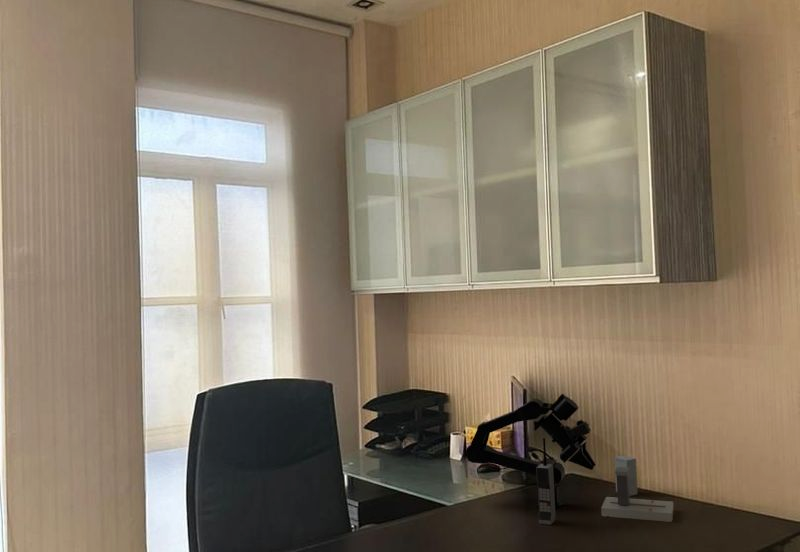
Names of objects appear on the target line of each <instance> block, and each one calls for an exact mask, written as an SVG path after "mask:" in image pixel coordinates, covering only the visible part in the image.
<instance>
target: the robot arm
mask: <svg viewBox="0 0 800 552" xmlns="http://www.w3.org/2000/svg"><path fill="white" fill-rule="evenodd" d="M579 408H580V407H579V406H578V405H577V403H576V402H575V401H574V400H573V399H572V398H570V397H568V396H567V395H565V393H561V394H560V395H559V396H558V398H557V399H556V400H555V401H554V402H553V403H548V402H543V401H542V400H541V399H538V398H532V399H531V400H529V401H528V402H526V403H524V404H523V405H522V406H520V407H518V408H517V409H514V410H512V411H510V412H507V413H504V414H503V415H499V416H498V417H497V416H496V417H494V418H492V419H490V420H487V421H483V422H481V423H480V424H478V425H477V428H476V431H475V433H474V436H473V438H472V440H471V442H470V445H469V446H467V447H466V449H465V452H464V454H465V457H466V459H467V461H469V462H470V463H472V464H481V465H482V464H494V465H497V466H501V467H504V468H507V469H512V470H515V471H520V472H523V473H526V474H529V475H532V476H535V477H536V478H537V471H536V467H538V466H539V465H540V464H543V463H544V459H542V460H539V461H538V460H533V459H530V458H525V457H521V456H519V455H514V454H511V453H507V452H503V451H500V450H497V449H495V448H493V447H492V446H491V445H489V444H488V442H489V437H490V433H493V432H495V431H499V430H500V429H504V428H506V427H508V426H511V425H514V424H516V423H519V422H526V421H531V420H534V421H533V424H534V425H533V426H534V427H533V430H534V431H537V430H538V429H542V430H543V431H544V432H545V433H546V434H547V435H548V436H549V437H550V438H551V439H552V440H551V442H552V443H553V444H554V443H556V444H557V445H558V446H559V447H560V448H561V452H560V454H559V459H560V460H561V461H562V462H563V463H564V464H565V463H566V462H567V461H568V462H570V463H573V464H576V465H579V466H580V467H583V468H586V469H588V470H591V471H592V470H594V467H596V465H597V464H596V462H595V461H594V460H593V458H592V456H591V454H590V453H589V451H588V449H587V441H586V440H587V436H586V435H588V434H589V433H590V432H591V431H592V429H591V428H590V427H589V426H590V425H589V423H588V422H587V421H584V420H582V419H579V420H577V421H576V425H574V426H573V427H570V426H569V425H566V426H565V425H564V424H563V423H562V421H565V422H566V421H568V420H569V419H570V418H571V417H572V416H573V415H574V413H576V412H577V411H578V410H579ZM550 411H551V413H549V412H550ZM548 413H549V414H548ZM547 414H548V415H547ZM541 416H542V417H541ZM538 418H539V420H535V419H538ZM584 441H585V442H584ZM546 462H547V464H551V465H553V475H554V496H555V509H557V508H559V507H561V506H563V505H564V503H563V502H560V491H559V490H560V489H559V483H560V482H561V481H562V480H563V479H564V477H565V474H566V469H565V467H564V465H563V464H562V463H561V462H559V461H558V460H557V459H552V458H549V457H546ZM536 484H537V483H536ZM537 486H538V484H537ZM535 507H538V508H539V502H538V503H536V504H535Z"/></svg>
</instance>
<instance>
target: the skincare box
mask: <svg viewBox="0 0 800 552" xmlns="http://www.w3.org/2000/svg"><path fill="white" fill-rule="evenodd" d="M617 467H628V468H629V495H630V497H631V496H636V495H638V477H637V459H636V458H635V457H631V456H626V455H623V454H622V455H617V456H614V472H615V471H616V469H617ZM614 475H615V474H614ZM615 492H616V493H617V475H615Z"/></svg>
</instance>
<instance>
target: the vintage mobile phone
mask: <svg viewBox="0 0 800 552" xmlns="http://www.w3.org/2000/svg"><path fill="white" fill-rule="evenodd" d="M542 442H543V443H542V444H543V445H542V446H543V453H542V454H543V455H542V456H543V459H544V463H543V464H540V465H539V466H538V467H536V471H537V477H536V484H538V485H537V490H538V494H537V495H538V503H539V507H538V523H539V524H540V525H548V526H550V525H552V524H553V523H554V522H555V521H556V508H555V496H554V475H553V465H551V464H547V462H546V458H547V452H546V451H547V450H546V438H545V437H543V438H542ZM543 459H542V460H543Z"/></svg>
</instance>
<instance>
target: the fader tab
mask: <svg viewBox="0 0 800 552" xmlns="http://www.w3.org/2000/svg"><path fill="white" fill-rule="evenodd" d="M614 475H617V492H616V494H617V495H616V497H617V498H618V505H628V504H629V502H630V499H631V498H630V497H631V496H630V495H629V468H628V467H617V469H616V471H615V470H614Z"/></svg>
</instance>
